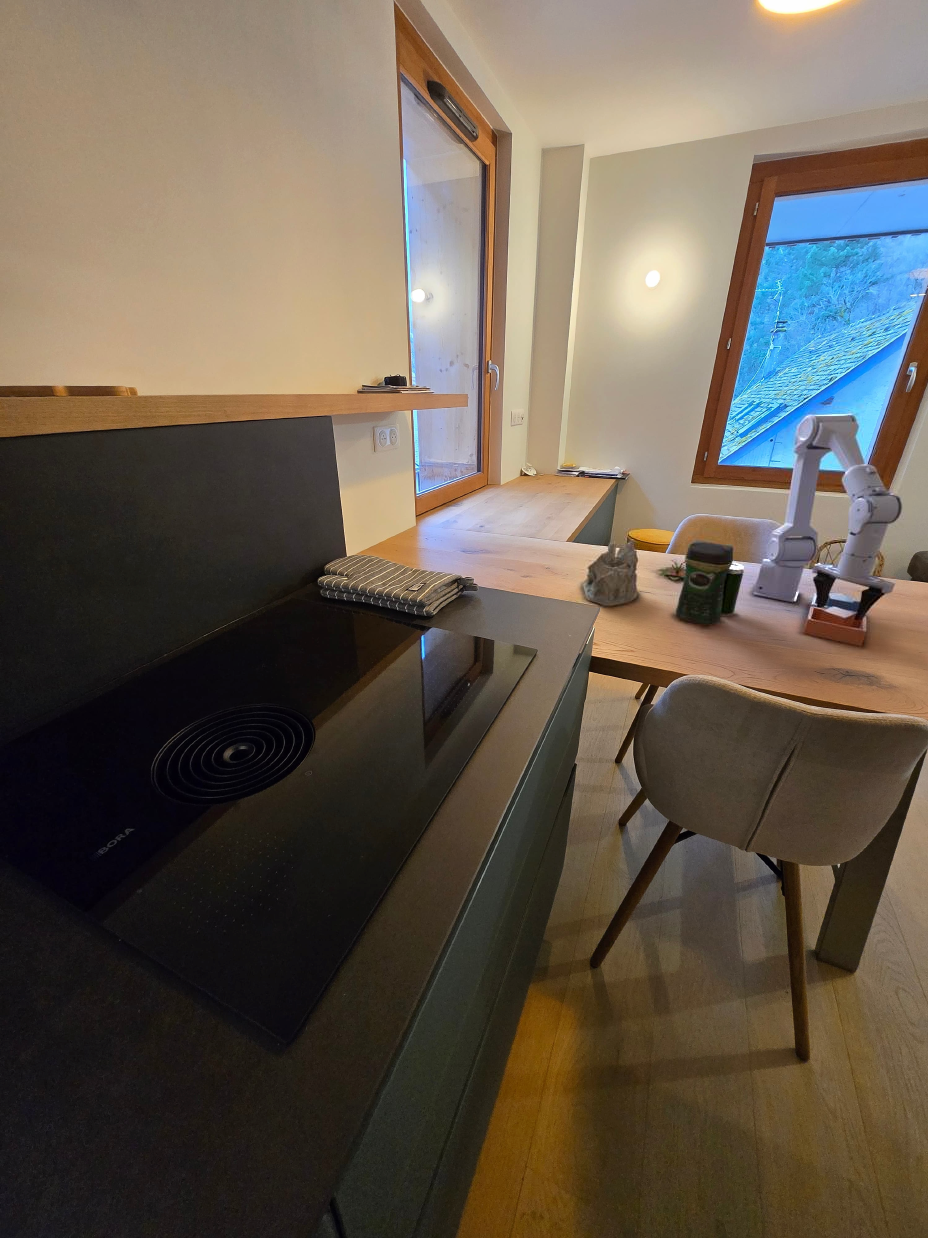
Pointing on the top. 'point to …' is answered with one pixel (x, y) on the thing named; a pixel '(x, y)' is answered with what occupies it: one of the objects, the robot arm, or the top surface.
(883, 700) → the top surface
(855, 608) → the blue bin
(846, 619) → the terracotta block
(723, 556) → the coffee jar
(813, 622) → the terracotta bin
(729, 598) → the beer can
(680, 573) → the lily flower
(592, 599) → the grey jagged hollow piece
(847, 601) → the blue block
